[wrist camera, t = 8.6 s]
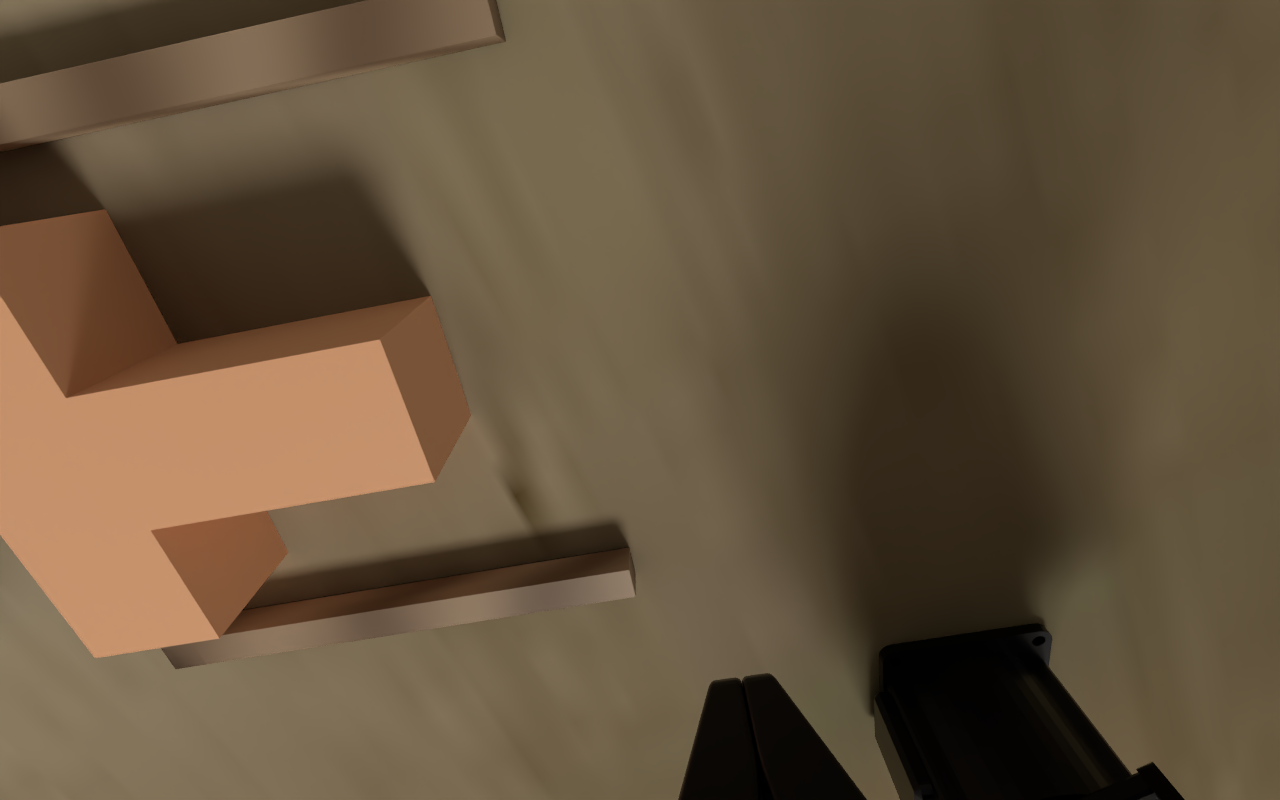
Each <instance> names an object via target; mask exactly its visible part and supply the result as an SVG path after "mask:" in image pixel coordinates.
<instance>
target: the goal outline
mask: <svg viewBox="0 0 1280 800" xmlns="http://www.w3.org/2000/svg"><path fill="white" fill-rule="evenodd" d="M505 41H506V40H505V36H504V32H503V27H502V23H501V19H500V15H499V11H498V7H497V3H496V0H365V1H360V2H356V3H352V4H347V5H343V6H338V7H334V8H330V9H325V10H321V11H316V12H312V13H308V14H303V15H299V16H294V17H290V18H286V19H281V20H277V21H273V22H268V23H264V24H259V25H255V26H251V27H246V28H242V29H237V30H233V31H229V32H224V33H220V34H215V35H211V36H207V37H202V38H198V39H193V40H189V41H185V42H180V43H176V44H171V45H167V46H163V47H158V48H154V49H149V50H145V51H141V52H136V53H132V54H127V55H123V56H119V57H114V58H110V59H105V60H101V61H97V62H92V63H88V64H83V65H79V66H75V67H70V68H66V69H61V70H57V71H53V72H48V73H44V74H39V75H35V76H31V77H26V78H22V79H18V80H13V81H9V82H4V83H0V152H5V151H9V150H14V149H18V148H23V147H27V146H32V145H36V144H41V143H45V142H50V141H55V140H59V139H64V138H68V137H73V136H77V135H82V134H86V133H91V132H96V131H100V130H105V129H109V128H114V127H118V126H123V125H127V124H132V123H137V122H141V121H146V120H150V119H155V118H159V117H164V116H168V115H173V114H178V113H182V112H187V111H191V110H196V109H200V108H205V107H209V106H214V105H219V104H223V103H228V102H232V101H237V100H241V99H246V98H250V97H255V96H260V95H264V94H269V93H273V92H278V91H282V90H287V89H291V88H296V87H301V86H305V85H310V84H314V83H319V82H323V81H328V80H332V79H337V78H342V77H346V76H351V75H355V74H360V73H364V72H369V71H373V70H378V69H383V68H387V67H392V66H396V65H401V64H405V63H410V62H414V61H419V60H424V59H428V58H433V57H437V56H442V55H446V54H451V53H455V52H460V51H464V50H469V49H474V48H478V47H483V46H487V45H492V44H496V43H501V42H505ZM630 597H636V582H635V570H634V566H633V562H632V557H631V553H630V549H629V548H623V549H617V550H611V551H605V552H599V553H592V554H586V555H580V556H574V557H568V558H562V559H556V560H549V561H543V562H537V563H531V564H525V565H519V566H513V567H506V568H500V569H494V570H488V571H482V572H476V573H470V574H463V575H457V576H451V577H445V578H439V579H433V580H427V581H421V582H414V583H408V584H402V585H396V586H390V587H384V588H378V589H371V590H365V591H359V592H353V593H347V594H341V595H335V596H328V597H322V598H316V599H310V600H304V601H298V602H292V603H285V604H279V605H273V606H267V607H261V608H255V609H249V610H242V611H241V612H240V614H239V615H238V616H237V617H236V619H235V620H234V621H233V622H232V624H231V625H230V626H229V627H228V629H227V630H226V631H225V632H224V634H223V635H222V636H221V637H220V639H213V640H207V641H201V642H194V643H188V644H181V645H175V646H169V647H162V648H161V649H162V650H163V652H164V653H165V655H166V656H167V658H168V659H169V660H170V662H171V663H172V665H173V666H174V667H175V669H179V668H186V667H192V666H199V665H205V664H211V663H218V662H224V661H230V660H237V659H243V658H249V657H256V656H262V655H268V654H275V653H281V652H287V651H294V650H300V649H306V648H313V647H319V646H326V645H332V644H338V643H345V642H351V641H357V640H364V639H370V638H376V637H383V636H389V635H395V634H402V633H408V632H414V631H421V630H427V629H434V628H440V627H446V626H453V625H459V624H465V623H472V622H478V621H484V620H491V619H497V618H503V617H510V616H516V615H522V614H529V613H535V612H541V611H548V610H554V609H561V608H567V607H573V606H580V605H586V604H592V603H599V602H605V601H611V600H618V599H624V598H630Z"/></svg>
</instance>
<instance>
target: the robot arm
mask: <svg viewBox="0 0 1280 800" xmlns="http://www.w3.org/2000/svg"><path fill="white" fill-rule="evenodd" d="M1051 643H1052V636H1051V634H1050V633H1049V632H1048V631H1047V630H1046V628H1045V627H1044V626H1043V625H1041V624H1028V625H1021V626H1014V627H1008V628H1001V629H994V630H988V631H981V632H974V633H967V634H961V635H954V636H947V637H940V638H934V639H927V640H920V641H913V642H907V643H900V644H893V645H889V646H886V647H884V648H883V649H882V650H881V651H880V653H879V673H880V692H877V693H876V695H875V697H874V720H875V737H876V740H877V743H878V745H879V748H880V750H881V753H882V755H883V758H884V760H885V763H886V765H887V768H888V770H889V773H890V775H891V778H892V780H893V783H894V785H895V788H896V790H897V793H898V795H899V798H900V800H1184V798H1183V797H1182V796H1181V795H1180V794H1179V793H1178V791H1177V790H1176V789H1175V788H1174V787H1173V785H1172V784H1171V783H1170V782H1169V781H1168V779H1167V778H1166V777H1165V776H1164V775H1163V773H1162V772H1161V771H1160V770H1159V769H1158V768H1157V766H1156V765H1155V764H1154V763H1153V762H1151V763H1149V764H1147V765H1144V766H1142V767H1140V768H1138V769H1136V770H1137V771H1138V773H1136V774H1133V775H1132V774H1131V773H1130V772H1129V770H1128V769H1127V768H1126V766H1125V765H1124V764H1123V763H1122V761H1121V760H1120V759H1119V757H1118V756H1117V755H1116V753H1115V752H1114V751H1113V750H1112V748H1111V747H1110V746H1109V744H1108V743H1107V742H1106V740H1105V739H1104V738H1103V737H1102V735H1101V734H1100V733H1099V731H1098V730H1097V729H1096V728H1095V726H1094V725H1093V724H1092V722H1091V721H1090V720H1089V718H1088V717H1087V716H1086V715H1085V713H1084V712H1083V711H1082V709H1081V708H1080V707H1079V705H1078V704H1077V703H1076V702H1075V700H1074V699H1073V698H1072V696H1071V695H1070V694H1069V693H1068V691H1067V690H1066V689H1065V687H1064V686H1063V685H1062V683H1061V682H1060V681H1059V680H1058V678H1057V677H1056V676H1055V674H1054V673H1053V672H1052V671H1051V669H1050V668H1049V659H1050V651H1051ZM678 800H867V799H866V798H865V797H864V795H863V794H862V793H861V791H860V790H859V789H858V787H857V786H856V785H855V783H854V782H853V781H852V779H851V778H850V777H849V775H848V774H847V773H846V771H845V770H844V769H843V767H842V766H841V765H840V763H839V762H838V761H837V759H836V758H835V757H834V755H833V754H832V753H831V751H830V750H829V749H828V747H827V746H826V745H825V743H824V742H823V741H822V739H821V738H820V737H819V735H818V734H817V733H816V731H815V730H814V729H813V727H812V726H811V725H810V723H809V722H808V721H807V719H806V718H805V717H804V715H803V714H802V713H801V711H800V710H799V709H798V707H797V706H796V705H795V703H794V702H793V701H792V699H791V698H790V697H789V695H788V694H787V693H786V691H785V690H784V689H783V688H782V686H781V685H780V684H779V682H778V681H777V680H776V678H775V677H774V676H773V675H771V674H768V673H765V674H758V675H751V676H746V677H744V678H743V680H742V683H741V681H740V679H738V678H729V679H722V680H715V681H713V682H711V684H710V686H709V688H708V692H707V696H706V699H705V703H704V707H703V710H702V714H701V718H700V721H699V725H698V729H697V732H696V736H695V740H694V743H693V747H692V751H691V755H690V758H689V762H688V766H687V769H686V773H685V777H684V780H683V784H682V788H681V791H680V795H679V799H678Z"/></svg>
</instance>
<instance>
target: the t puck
mask: <svg viewBox="0 0 1280 800" xmlns="http://www.w3.org/2000/svg"><path fill="white" fill-rule="evenodd" d="M470 416H471V414H470V411H469V408H468V405H467V402H466V399H465V396H464V393H463V390H462V387H461V384H460V381H459V378H458V375H457V372H456V369H455V366H454V363H453V360H452V357H451V354H450V351H449V348H448V345H447V342H446V339H445V336H444V333H443V330H442V327H441V325H440V322H439V319H438V316H437V313H436V310H435V307H434V304H433V301H432V298H431V296H427V297H421V298H416V299H411V300H406V301H400V302H395V303H390V304H385V305H379V306H374V307H369V308H364V309H358V310H353V311H348V312H343V313H337V314H332V315H327V316H322V317H316V318H311V319H306V320H301V321H295V322H290V323H285V324H280V325H274V326H269V327H264V328H259V329H253V330H248V331H243V332H238V333H232V334H227V335H222V336H217V337H212V338H206V339H201V340H196V341H191V342H185V343H180V344H177V342H176V341H175V339H174V337H173V335H172V333H171V331H170V329H169V327H168V326H167V324H166V322H165V320H164V318H163V316H162V314H161V312H160V311H159V309H158V307H157V305H156V303H155V301H154V299H153V297H152V296H151V294H150V292H149V290H148V288H147V286H146V284H145V282H144V281H143V279H142V277H141V275H140V273H139V271H138V269H137V267H136V266H135V264H134V262H133V260H132V258H131V256H130V254H129V252H128V251H127V249H126V247H125V245H124V243H123V241H122V239H121V237H120V236H119V234H118V232H117V230H116V228H115V226H114V224H113V222H112V221H111V219H110V217H109V215H108V213H107V211H106V209H104V210H98V211H91V212H85V213H79V214H73V215H67V216H61V217H54V218H48V219H42V220H36V221H30V222H24V223H18V224H11V225H5V226H0V535H1V536H2V538H3V539H4V540H5V542H6V543H7V544H8V545H9V547H10V548H11V549H12V551H13V552H14V553H15V555H16V556H17V557H18V558H19V560H20V561H21V562H22V564H23V565H24V566H25V568H26V569H27V570H28V571H29V573H30V574H31V575H32V577H33V578H34V579H35V581H36V582H37V583H38V584H39V586H40V587H41V588H42V590H43V591H44V592H45V594H46V595H47V596H48V597H49V599H50V600H51V601H52V603H53V604H54V605H55V607H56V608H57V609H58V610H59V612H60V613H61V614H62V616H63V617H64V618H65V620H66V621H67V622H68V624H69V625H70V626H71V627H72V629H73V630H74V631H75V633H76V634H77V635H78V637H79V638H80V639H81V640H82V642H83V643H84V644H85V646H86V647H87V648H88V650H89V651H90V652H91V653H92V655H93V656H94V657H95V658H99V657H105V656H112V655H118V654H124V653H131V652H137V651H143V650H150V649H156V648H162V647H169V646H175V645H181V644H188V643H194V642H201V641H207V640H213V639H220V637H221V636H222V635H223V634H224V632H225V631H226V630H227V629H228V627H229V626H230V625H231V624H232V622H233V621H234V620H235V619H236V617H237V616H238V615H239V614H240V612H241V611H242V610H243V609H244V607H245V606H246V605H247V604H248V602H249V601H250V600H251V598H252V597H253V596H254V595H255V593H256V592H257V591H258V590H259V588H260V587H261V586H262V585H263V583H264V582H265V581H266V580H267V578H268V577H269V576H270V575H271V573H272V572H273V571H274V570H275V568H276V567H277V566H278V565H279V563H280V562H281V561H282V560H283V558H284V557H285V556H286V555H287V553H288V551H287V549H286V547H285V545H284V543H283V541H282V539H281V538H280V536H279V534H278V532H277V530H276V528H275V526H274V524H273V523H272V521H271V519H270V517H269V515H268V513H267V510H273V509H279V508H285V507H291V506H296V505H302V504H308V503H314V502H320V501H326V500H332V499H338V498H343V497H349V496H355V495H361V494H367V493H373V492H379V491H385V490H390V489H396V488H402V487H408V486H414V485H420V484H426V483H431V482H435V480H436V479H437V477H438V475H439V473H440V471H441V469H442V468H443V466H444V464H445V462H446V460H447V458H448V457H449V455H450V453H451V451H452V449H453V447H454V446H455V444H456V442H457V440H458V438H459V437H460V435H461V433H462V431H463V429H464V427H465V426H466V424H467V422H468V420H469V418H470Z"/></svg>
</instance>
